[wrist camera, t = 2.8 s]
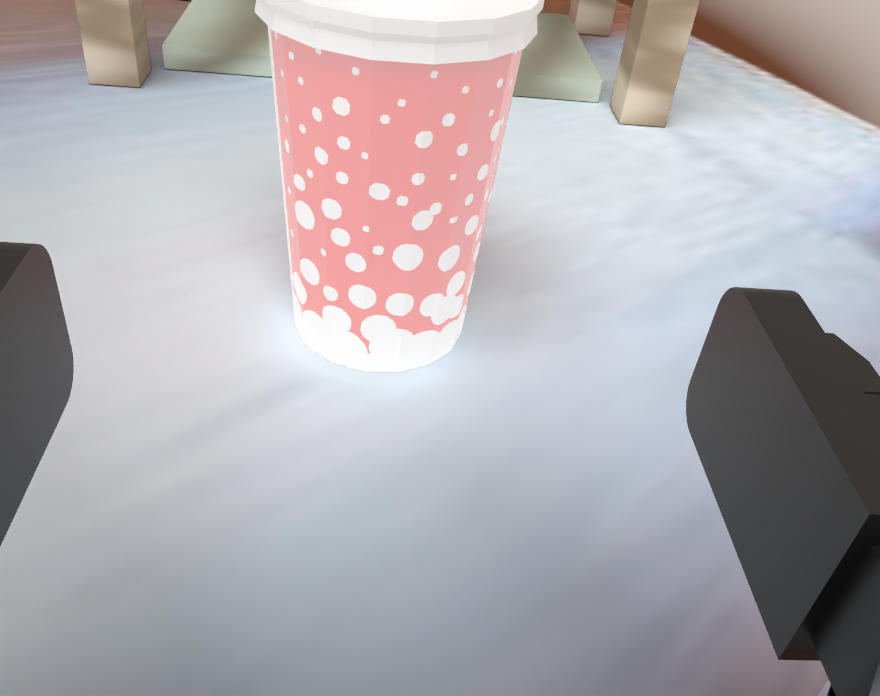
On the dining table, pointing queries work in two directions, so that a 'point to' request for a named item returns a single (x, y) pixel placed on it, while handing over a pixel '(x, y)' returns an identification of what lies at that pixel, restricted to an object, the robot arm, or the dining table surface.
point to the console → (539, 74)
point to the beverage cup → (389, 164)
